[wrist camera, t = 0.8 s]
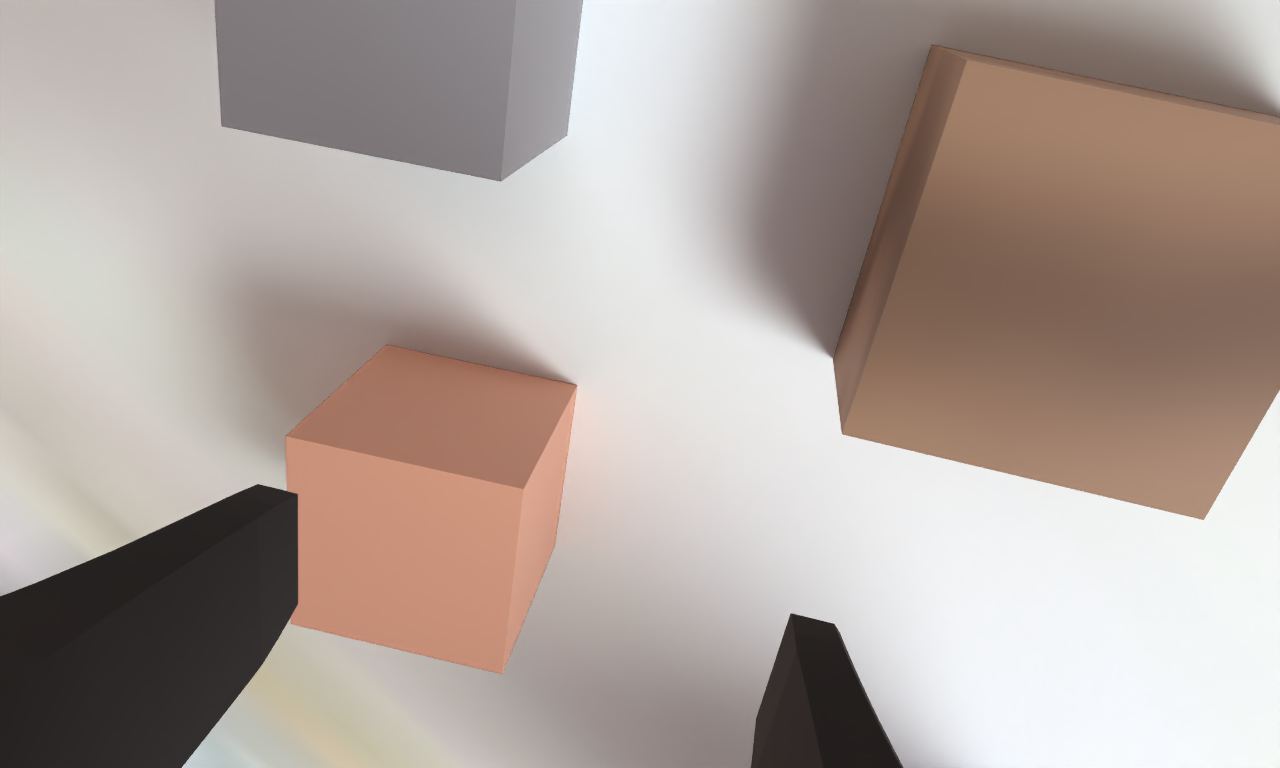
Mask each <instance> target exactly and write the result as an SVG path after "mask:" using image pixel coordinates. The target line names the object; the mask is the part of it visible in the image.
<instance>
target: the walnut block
mask: <svg viewBox="0 0 1280 768" xmlns="http://www.w3.org/2000/svg"><path fill="white" fill-rule="evenodd" d="M833 363H834V372H835V380H836V388H837V397H838V405H839V413H840V422H841V430H842V434H843V435H848V436H852V437H856V438H860V439H865V440H869V441H873V442H877V443H881V444H886V445H890V446H894V447H898V448H902V449H907V450H911V451H915V452H919V453H924V454H928V455H932V456H936V457H940V458H945V459H949V460H953V461H957V462H962V463H966V464H970V465H974V466H978V467H983V468H987V469H991V470H995V471H1000V472H1004V473H1008V474H1012V475H1016V476H1021V477H1025V478H1029V479H1033V480H1037V481H1042V482H1046V483H1050V484H1054V485H1059V486H1063V487H1067V488H1071V489H1075V490H1080V491H1084V492H1088V493H1092V494H1097V495H1101V496H1105V497H1109V498H1113V499H1118V500H1122V501H1126V502H1130V503H1135V504H1139V505H1143V506H1147V507H1151V508H1156V509H1160V510H1164V511H1168V512H1172V513H1177V514H1181V515H1185V516H1189V517H1194V518H1198V519H1202V520H1204V518H1205V517H1206V515H1207V513H1208V512H1209V510H1210V508H1211V506H1212V505H1213V503H1214V501H1215V500H1216V498H1217V496H1218V494H1219V493H1220V491H1221V489H1222V488H1223V486H1224V484H1225V482H1226V481H1227V479H1228V477H1229V476H1230V474H1231V472H1232V470H1233V469H1234V467H1235V465H1236V464H1237V462H1238V460H1239V458H1240V457H1241V455H1242V453H1243V452H1244V450H1245V448H1246V446H1247V445H1248V443H1249V441H1250V440H1251V438H1252V436H1253V434H1254V433H1255V431H1256V429H1257V428H1258V426H1259V424H1260V422H1261V421H1262V419H1263V417H1264V416H1265V414H1266V412H1267V410H1268V409H1269V407H1270V405H1271V404H1272V402H1273V400H1274V398H1275V397H1276V395H1277V393H1278V392H1279V390H1280V117H1277V116H1272V115H1267V114H1262V113H1257V112H1252V111H1248V110H1243V109H1238V108H1233V107H1228V106H1224V105H1219V104H1214V103H1209V102H1204V101H1200V100H1195V99H1190V98H1185V97H1180V96H1176V95H1171V94H1166V93H1161V92H1156V91H1152V90H1147V89H1142V88H1137V87H1132V86H1128V85H1123V84H1118V83H1113V82H1108V81H1104V80H1099V79H1094V78H1089V77H1084V76H1080V75H1075V74H1070V73H1065V72H1060V71H1056V70H1051V69H1046V68H1041V67H1036V66H1032V65H1027V64H1022V63H1017V62H1012V61H1007V60H1003V59H998V58H993V57H988V56H983V55H979V54H974V53H969V52H964V51H959V50H955V49H950V48H945V47H940V46H935V45H931V49H930V52H929V55H928V58H927V61H926V65H925V68H924V71H923V74H922V77H921V80H920V84H919V87H918V90H917V93H916V96H915V99H914V103H913V106H912V109H911V112H910V115H909V119H908V122H907V125H906V128H905V131H904V134H903V138H902V141H901V144H900V147H899V150H898V154H897V157H896V160H895V163H894V166H893V169H892V173H891V176H890V179H889V182H888V185H887V189H886V192H885V195H884V198H883V201H882V204H881V208H880V211H879V214H878V217H877V220H876V224H875V227H874V230H873V233H872V236H871V239H870V243H869V246H868V249H867V252H866V255H865V259H864V262H863V265H862V268H861V271H860V274H859V278H858V281H857V284H856V287H855V290H854V294H853V297H852V300H851V303H850V306H849V309H848V313H847V316H846V319H845V322H844V325H843V329H842V332H841V335H840V338H839V341H838V344H837V348H836V351H835V354H834V357H833Z"/></svg>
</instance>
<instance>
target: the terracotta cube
mask: <svg viewBox="0 0 1280 768" xmlns="http://www.w3.org/2000/svg"><path fill="white" fill-rule="evenodd" d="M576 391H577V385H573V384H568V383H564V382H559V381H554V380H550V379H545V378H540V377H535V376H531V375H526V374H521V373H517V372H512V371H507V370H503V369H498V368H493V367H489V366H484V365H479V364H474V363H470V362H465V361H460V360H456V359H451V358H446V357H442V356H437V355H432V354H428V353H423V352H418V351H413V350H409V349H404V348H399V347H395V346H390V345H386V346H384V347H383V348H382V349H381V350H380V351H379V352H378V353H377V354H376V355H375V356H373V357H372V358H371V359H370V360H369V361H368V362H367V363H366V364H365V365H363V366H362V367H361V368H360V369H359V370H358V371H357V372H356V373H355V374H354V375H352V376H351V377H350V378H349V379H348V380H347V381H346V382H345V383H344V384H343V385H341V386H340V387H339V388H338V389H337V390H336V391H335V392H334V393H333V394H332V395H330V396H329V397H328V398H327V399H326V400H325V401H324V402H323V403H322V404H320V405H319V406H318V407H317V408H316V409H315V410H314V411H313V412H312V413H311V414H309V415H308V416H307V417H306V418H305V419H304V420H303V421H302V422H301V423H300V424H298V425H297V426H296V427H295V428H294V429H293V430H292V431H291V432H290V433H288V434H287V435H286V436H285V439H286V472H287V491H288V492H292V493H296V494H298V605H297V607H296V609H295V610H294V612H293V614H292V616H291V624H293V625H298V626H302V627H306V628H310V629H314V630H319V631H323V632H327V633H331V634H335V635H340V636H344V637H348V638H352V639H356V640H361V641H365V642H369V643H373V644H377V645H382V646H386V647H390V648H394V649H398V650H403V651H407V652H411V653H415V654H419V655H424V656H428V657H432V658H436V659H440V660H445V661H449V662H453V663H457V664H461V665H466V666H470V667H474V668H478V669H482V670H487V671H491V672H495V673H499V674H502V673H503V671H504V669H505V666H506V664H507V661H508V659H509V656H510V654H511V651H512V649H513V647H514V644H515V642H516V639H517V637H518V634H519V632H520V629H521V627H522V625H523V622H524V620H525V617H526V615H527V612H528V610H529V607H530V605H531V603H532V600H533V598H534V595H535V593H536V590H537V588H538V585H539V583H540V581H541V578H542V576H543V573H544V571H545V568H546V566H547V564H548V561H549V559H550V556H551V554H552V551H553V549H554V546H555V541H556V534H557V527H558V520H559V512H560V505H561V498H562V491H563V484H564V477H565V470H566V463H567V455H568V448H569V441H570V434H571V427H572V420H573V413H574V406H575V399H576Z"/></svg>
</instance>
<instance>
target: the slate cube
mask: <svg viewBox="0 0 1280 768" xmlns="http://www.w3.org/2000/svg"><path fill="white" fill-rule="evenodd" d="M582 4H583V0H215V18H216V36H217V53H218V71H219V89H220V106H221V124H222V126H223V127H228V128H233V129H238V130H244V131H249V132H254V133H259V134H264V135H269V136H274V137H279V138H284V139H289V140H294V141H299V142H304V143H309V144H314V145H319V146H325V147H330V148H335V149H340V150H345V151H350V152H355V153H360V154H365V155H370V156H375V157H380V158H385V159H390V160H395V161H400V162H406V163H411V164H416V165H421V166H426V167H431V168H436V169H441V170H446V171H451V172H456V173H461V174H466V175H471V176H476V177H481V178H487V179H492V180H497V181H502V180H503V179H505V178H506V177H508V176H509V175H511V174H512V173H513V172H515V171H516V170H518V169H519V168H521V167H522V166H524V165H525V164H526V163H528V162H529V161H531V160H532V159H534V158H535V157H536V156H538V155H539V154H541V153H542V152H544V151H545V150H547V149H548V148H549V147H551V146H552V145H554V144H555V143H557V142H558V141H560V140H561V139H562V138H564V137H565V136H567V131H568V123H569V114H570V106H571V97H572V89H573V80H574V72H575V63H576V55H577V46H578V38H579V29H580V21H581V12H582Z"/></svg>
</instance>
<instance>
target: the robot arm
mask: <svg viewBox="0 0 1280 768" xmlns="http://www.w3.org/2000/svg"><path fill="white" fill-rule="evenodd" d="M297 605H298V494H296V493H292V492H288V491H284V490H280V489H276V488H272V487H268V486H263V485H259V484H257V485H255V486H253V487H250V488H248V489H245V490H243V491H241V492H238V493H236V494H234V495H232V496H230V497H227V498H225V499H223V500H221V501H219V502H217V503H214V504H212V505H210V506H208V507H206V508H204V509H202V510H200V511H197V512H195V513H193V514H191V515H189V516H187V517H185V518H183V519H181V520H178V521H176V522H174V523H172V524H170V525H168V526H166V527H163V528H161V529H159V530H157V531H155V532H153V533H150V534H148V535H146V536H144V537H142V538H140V539H137V540H135V541H133V542H131V543H129V544H127V545H124V546H122V547H120V548H118V549H116V550H113V551H111V552H109V553H106V554H104V555H102V556H99V557H97V558H94V559H92V560H90V561H87V562H85V563H82V564H80V565H78V566H75V567H73V568H70V569H68V570H66V571H63V572H61V573H59V574H56V575H54V576H51V577H49V578H47V579H44V580H42V581H39V582H37V583H35V584H32V585H29V586H27V587H24V588H22V589H19V590H16V591H14V592H11V593H8V594H6V595H3V596H0V768H182V766H183V765H184V764H185V763H186V761H187V760H188V759H189V758H190V756H191V755H192V754H193V753H194V751H195V750H196V749H197V747H198V746H199V745H200V744H201V742H202V741H203V740H204V739H205V737H206V736H207V735H208V734H209V732H210V731H211V730H212V728H213V727H214V726H215V725H216V723H217V722H218V721H219V720H220V718H221V717H222V716H223V715H224V713H225V712H226V711H227V709H228V708H229V707H230V706H231V704H232V703H233V702H234V700H235V699H236V698H237V697H238V695H239V694H240V693H241V691H242V690H243V689H244V688H245V686H246V685H247V684H248V682H249V681H250V680H251V679H252V677H253V676H254V675H255V673H256V672H257V671H258V669H259V668H260V667H261V665H262V664H263V662H264V661H265V659H266V657H267V656H268V654H269V653H270V651H271V649H272V648H273V646H274V645H275V643H276V641H277V640H278V638H279V636H280V635H281V633H282V631H283V629H284V628H285V626H286V624H287V622H288V621H289V619H290V617H291V616H292V614H293V612H294V610H295V609H296V607H297ZM751 768H903V766H902V764H901V762H900V760H899V758H898V756H897V755H896V753H895V751H894V749H893V747H892V745H891V743H890V741H889V739H888V737H887V735H886V733H885V731H884V729H883V727H882V725H881V723H880V721H879V719H878V717H877V715H876V713H875V711H874V709H873V707H872V705H871V703H870V701H869V698H868V696H867V694H866V692H865V690H864V688H863V686H862V683H861V681H860V679H859V677H858V674H857V672H856V670H855V668H854V665H853V663H852V661H851V658H850V656H849V654H848V651H847V649H846V647H845V644H844V642H843V639H842V637H841V635H840V632H839V631H838V629H837V627H836V626H835V624H833V623H828V622H824V621H820V620H816V619H812V618H808V617H804V616H800V615H795V614H790V617H789V620H788V623H787V626H786V629H785V632H784V635H783V638H782V642H781V645H780V648H779V651H778V654H777V657H776V660H775V663H774V666H773V669H772V672H771V675H770V678H769V681H768V684H767V687H766V690H765V693H764V697H763V700H762V703H761V706H760V709H759V712H758V715H757V718H756V726H755V735H754V745H753V755H752V765H751Z"/></svg>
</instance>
